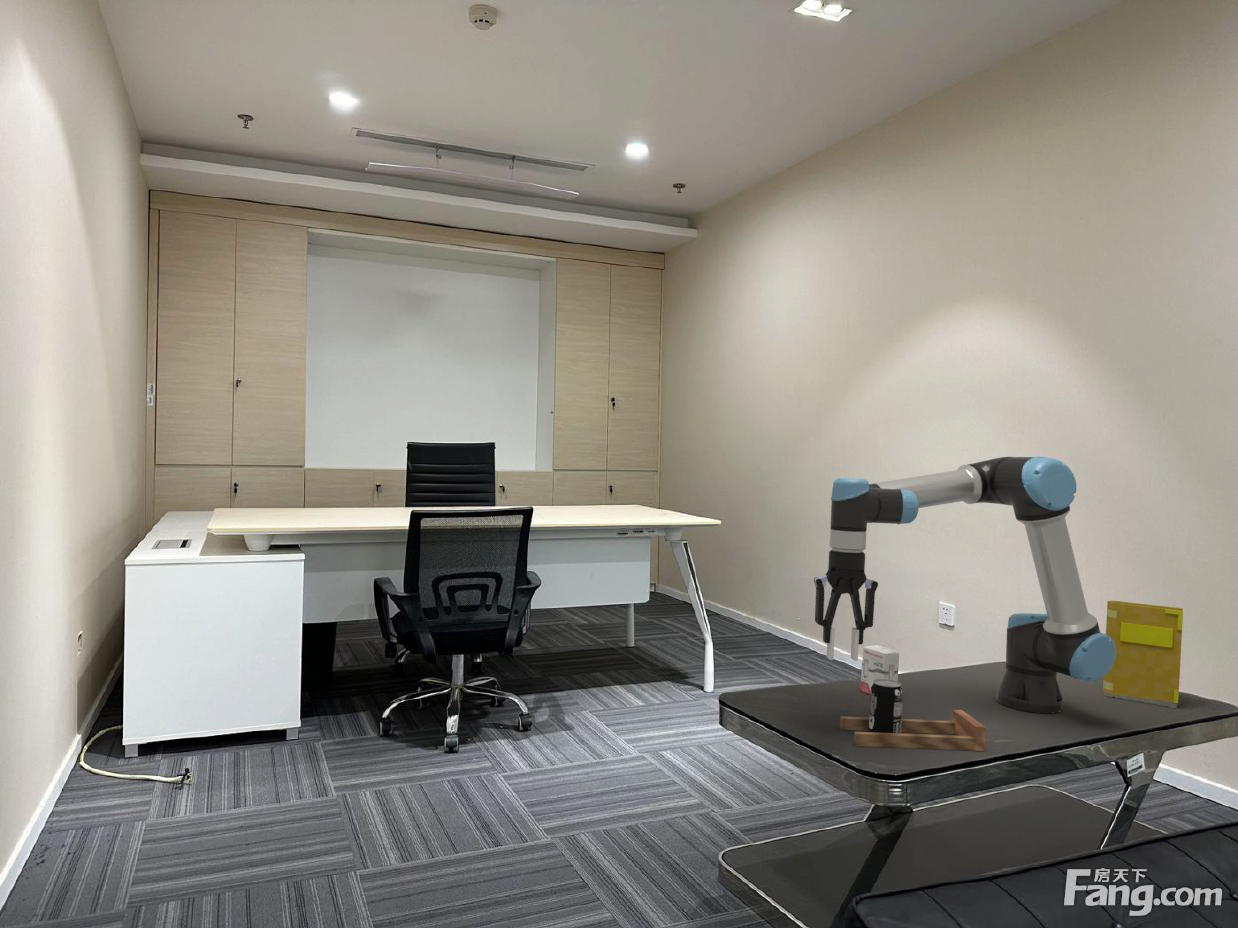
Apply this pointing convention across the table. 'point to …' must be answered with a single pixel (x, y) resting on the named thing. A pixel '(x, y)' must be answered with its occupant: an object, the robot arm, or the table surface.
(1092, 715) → the table surface
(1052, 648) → the robot arm
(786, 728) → the table surface
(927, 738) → the channel
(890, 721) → the beverage can
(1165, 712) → the table surface
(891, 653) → the ink box
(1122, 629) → the book
